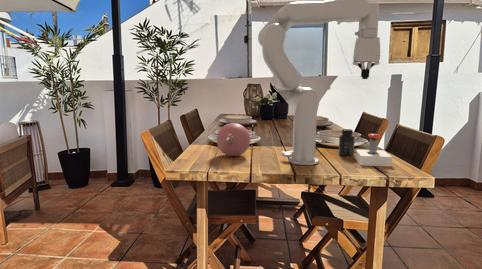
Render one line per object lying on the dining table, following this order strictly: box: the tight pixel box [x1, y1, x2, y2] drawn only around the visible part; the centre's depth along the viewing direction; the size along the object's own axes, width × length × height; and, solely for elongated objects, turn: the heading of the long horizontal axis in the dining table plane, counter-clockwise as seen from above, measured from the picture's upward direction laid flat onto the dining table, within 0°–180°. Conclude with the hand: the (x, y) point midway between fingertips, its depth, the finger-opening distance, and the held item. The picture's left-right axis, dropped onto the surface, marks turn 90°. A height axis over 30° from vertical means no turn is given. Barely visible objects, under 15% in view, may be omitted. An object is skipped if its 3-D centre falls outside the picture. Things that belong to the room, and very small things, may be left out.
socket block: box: [354, 149, 393, 168], centre depth 134 cm, size 12×12×4 cm
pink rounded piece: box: [216, 122, 251, 157], centre depth 143 cm, size 15×20×15 cm
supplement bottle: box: [338, 128, 356, 157], centre depth 147 cm, size 7×7×12 cm
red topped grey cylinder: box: [367, 133, 381, 154], centre depth 134 cm, size 5×5×12 cm
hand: (364, 78), depth 135 cm, fingers closed
